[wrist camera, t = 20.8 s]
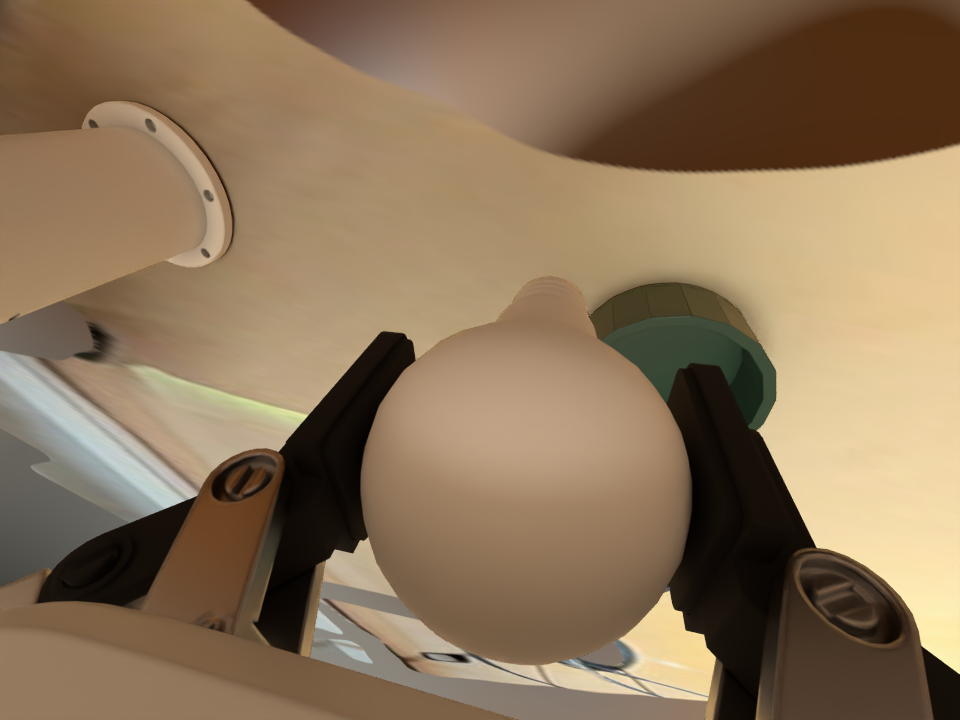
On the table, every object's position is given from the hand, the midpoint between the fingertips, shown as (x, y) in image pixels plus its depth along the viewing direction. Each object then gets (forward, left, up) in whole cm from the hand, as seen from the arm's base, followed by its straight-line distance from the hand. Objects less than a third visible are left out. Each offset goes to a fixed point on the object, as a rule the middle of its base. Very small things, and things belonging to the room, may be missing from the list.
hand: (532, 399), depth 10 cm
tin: (+7, -11, -20) cm, 24 cm away
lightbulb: (0, 0, -6) cm, 6 cm away
